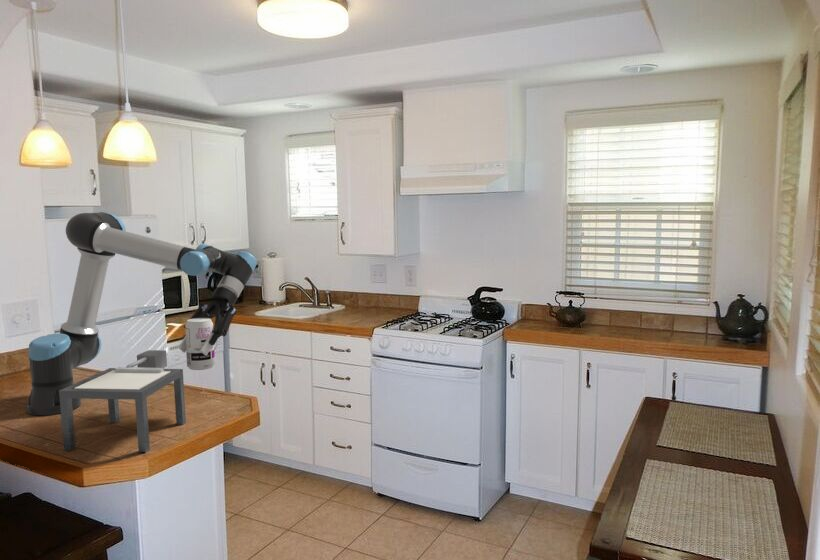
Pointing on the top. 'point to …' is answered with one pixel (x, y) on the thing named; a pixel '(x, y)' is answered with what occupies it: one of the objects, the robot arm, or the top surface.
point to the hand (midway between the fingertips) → (192, 351)
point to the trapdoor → (132, 373)
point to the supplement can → (198, 343)
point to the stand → (113, 405)
